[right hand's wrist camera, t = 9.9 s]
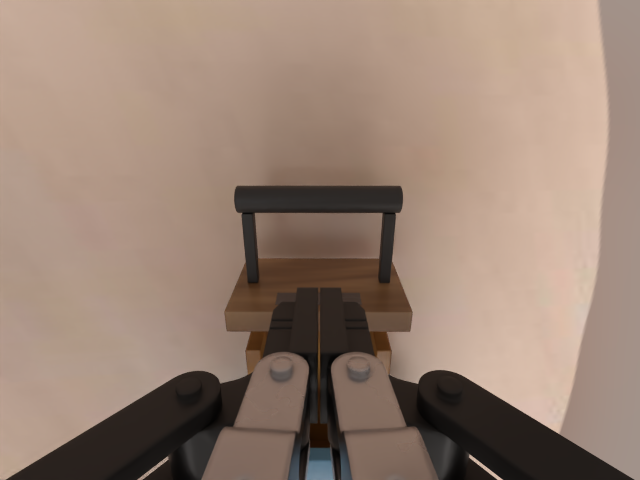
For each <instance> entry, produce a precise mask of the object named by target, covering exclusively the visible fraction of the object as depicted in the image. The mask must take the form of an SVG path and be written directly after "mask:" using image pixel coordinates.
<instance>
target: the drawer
mask: <svg viewBox="0 0 640 480" xmlns="http://www.w3.org/2000/svg"><path fill="white" fill-rule="evenodd" d="M234 201H235V208H236V211H237V212H238V213H242V225H243V236H244V247H245V258H246V262H245V265H244V267H243V270H242V272H241V274H240V277H239V279H238V281H237V284H236V286H235V288H234V291H233V293H232V295H231V298H230V300H229V302H228V305H227V307H226V309H225V321H226V329H227V331H251V333H250V337H249V340H248V344H247V347H246V360H247V370H248V375H249V374H250V373H252V372H253V371H254V368H255V366H256V364H257V363H258V362H259V361H260V360H261V359H262V357H263V353H264V348H265V344H266V340H267V335H268V331H269V327H270V322H271V318H272V314H273V310H274V309H275V308H276V307H277V306H278V305H279V304H280V303H281V302H295V300H296V292H297V287H318V423H310V448H330V443H329V440H328V427H327V424H320V287H341V291H342V300H343V302H357V303H358V304H359V305H360V306H361V307H362V308H363V309H364V310H365V313H366V318H367V322H368V327H369V332H370V336H371V341H372V345H373V350H374V354H375V357H376V358H378V359H379V360H380V361H381V362H382V363H383V364H384V366H385V368H386V371H387V374H388V375H389V373H390V362H391V352H392V351H391V347H390V343H389V339H388V335H387V332H410V329H411V321H412V313H413V312H412V310H411V307H410V305H409V302H408V300H407V297H406V295H405V292H404V290H403V287H402V285H401V282H400V280H399V277H398V275H397V272H396V270H395V267H394V265H393V262H392V254H393V242H394V231H395V219H396V214H395V213H400V212H401V209H402V204H403V193H402V188H401V186H237V187H236V189H235V195H234ZM255 213H383V216H382V230H381V244H380V258H379V259H282V258H258V251H257V237H256V224H255Z"/></svg>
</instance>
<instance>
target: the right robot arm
mask: <svg viewBox="0 0 640 480" xmlns="http://www.w3.org/2000/svg"><path fill="white" fill-rule="evenodd" d="M310 423H318V287H297V292H296V300H295V302H281V303H280V304H279V305H278V306H277V307H276V308H275V309H274V310H273V314H272V318H271V322H270V327H269V331H268V335H267V340H266V344H265V348H264V353H263V357H262V359H261V360H260V361H259V362H258V363H257V364H256V366H255V368H254V371H253V372H252V373H250V374H249V375H247V376H245V377H243V378H240V379H237V380H234V381H229V382H225V383H221V384H220V382H219V380H218V378H217V377H216V376H215V375H213V374H211V373H209V372H205V371H193V372H187V373H184V374H181V375H179V376H177V377H175V378H173V379H171V380H170V381H168V382H166V383H165V384H163V385H161V386H160V387H158V388H157V389H155V390H153V391H152V392H150V393H148V394H147V395H145V396H143V397H142V398H140V399H138V400H137V401H135V402H133V403H132V404H130V405H128V406H127V407H125V408H123V409H122V410H120V411H119V412H117V413H115V414H114V415H112V416H110V417H109V418H107V419H105V420H104V421H102V422H100V423H99V424H97V425H95V426H94V427H92V428H90V429H89V430H87V431H85V432H84V433H82V434H81V435H79V436H77V437H76V438H74V439H72V440H71V441H69V442H67V443H66V444H64V445H62V446H61V447H59V448H57V449H56V450H54V451H52V452H51V453H49V454H47V455H46V456H44V457H43V458H41V459H39V460H38V461H36V462H34V463H33V464H31V465H29V466H28V467H26V468H24V469H23V470H21V471H19V472H18V473H16V474H14V475H13V476H11V477H9V478H8V479H6V480H137V479H138V478H140V477H141V476H142V475H144V474H145V473H146V472H148V471H149V470H150V469H151V468H153V467H154V466H155V465H157V464H158V463H159V462H161V461H162V460H163V459H164V458H166V457H167V456H168V458H169V460H167V461H166V462H165V463H164V464H162V465H161V466H160V467H158V468H157V469H156V470H155V471H153V472H152V473H151V474H149V475H148V476H147V477H146V478H144V479H143V480H307V473H308V464H309V455H310ZM320 424H327V427H328V440H329V443H330V455H331V464H332V473H333V480H497V479H496V478H494V477H493V476H492V475H491V474H489V473H488V472H487V471H485V470H484V469H483V468H482V467H480V466H479V465H478V464H476V463H475V462H474V461H473V460H471V459H470V458H469V454H470V455H472V456H473V457H474V458H476V459H477V460H478V461H479V462H481V463H482V464H483V465H485V466H486V467H487V468H489V469H490V470H491V471H492V472H494V473H495V474H496V475H498V476H499V477H500V478H502V479H503V480H634V479H632V478H631V477H629V476H627V475H626V474H624V473H622V472H621V471H619V470H617V469H616V468H614V467H612V466H611V465H609V464H607V463H606V462H604V461H602V460H601V459H599V458H597V457H596V456H594V455H592V454H591V453H589V452H588V451H586V450H584V449H583V448H581V447H579V446H578V445H576V444H574V443H573V442H571V441H569V440H568V439H566V438H564V437H563V436H561V435H559V434H558V433H556V432H555V431H553V430H551V429H550V428H548V427H546V426H545V425H543V424H541V423H540V422H538V421H536V420H535V419H533V418H531V417H530V416H528V415H526V414H525V413H523V412H521V411H520V410H518V409H517V408H515V407H513V406H512V405H510V404H508V403H507V402H505V401H503V400H502V399H500V398H498V397H497V396H495V395H493V394H492V393H490V392H488V391H487V390H485V389H483V388H482V387H480V386H478V385H477V384H475V383H474V382H472V381H470V380H469V379H467V378H465V377H463V376H462V375H459V374H457V373H454V372H450V371H445V370H435V371H430V372H428V373H426V374H424V375H423V376H422V377H421V378H420V380H419V384H416V383H411V382H407V381H403V380H400V379H397V378H394V377H392V376H390V375H388V374H387V371H386V368H385V366H384V364H383V363H382V362H381V361H380V360H379V359H378V358H376V357H375V354H374V350H373V345H372V341H371V336H370V332H369V327H368V322H367V318H366V313H365V310H364V309H363V308H362V307H361V306H360V305H359V304H358V303H357V302H343V300H342V291H341V287H320Z"/></svg>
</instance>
